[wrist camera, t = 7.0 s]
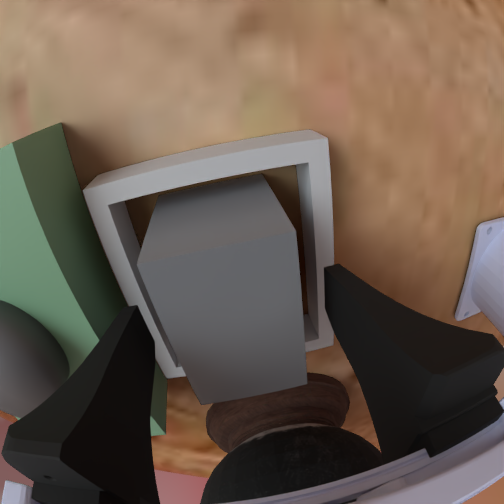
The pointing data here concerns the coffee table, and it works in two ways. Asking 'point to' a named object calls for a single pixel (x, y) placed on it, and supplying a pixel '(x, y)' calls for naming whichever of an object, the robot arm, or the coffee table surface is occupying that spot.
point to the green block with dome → (119, 253)
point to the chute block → (227, 288)
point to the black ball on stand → (285, 442)
